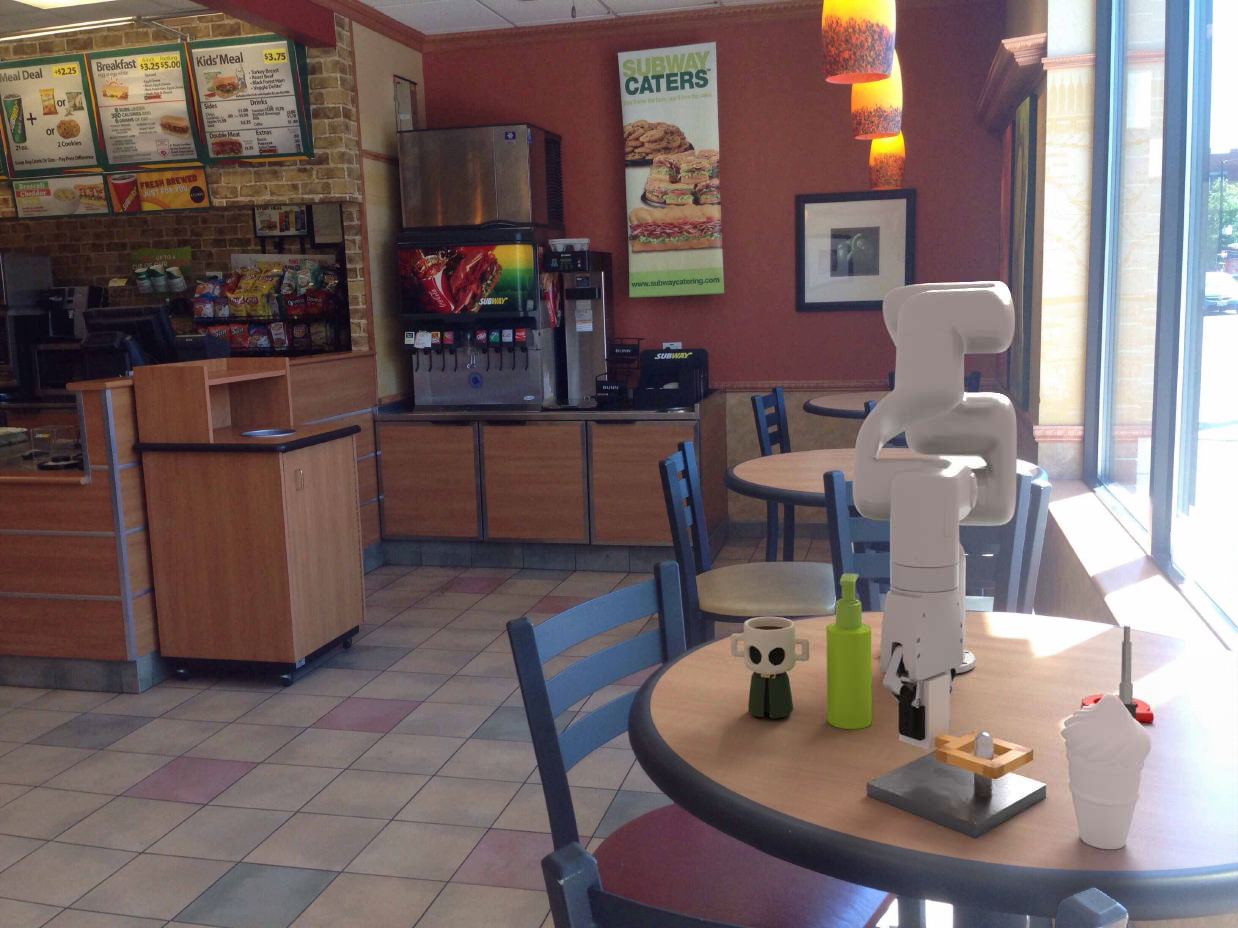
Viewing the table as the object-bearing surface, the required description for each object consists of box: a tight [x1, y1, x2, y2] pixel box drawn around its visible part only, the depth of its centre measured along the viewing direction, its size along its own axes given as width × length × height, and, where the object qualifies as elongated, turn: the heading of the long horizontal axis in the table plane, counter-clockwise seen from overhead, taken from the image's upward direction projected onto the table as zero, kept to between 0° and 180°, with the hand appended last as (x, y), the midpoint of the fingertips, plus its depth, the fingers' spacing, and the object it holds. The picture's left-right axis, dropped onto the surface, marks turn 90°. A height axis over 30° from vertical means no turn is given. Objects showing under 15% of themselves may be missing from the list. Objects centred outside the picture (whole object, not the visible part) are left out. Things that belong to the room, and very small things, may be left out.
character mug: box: [730, 616, 810, 719], centre depth 147 cm, size 11×7×13 cm, turn 72°
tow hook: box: [1081, 625, 1155, 723], centre depth 144 cm, size 8×13×9 cm
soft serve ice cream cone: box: [1060, 691, 1152, 850], centre depth 108 cm, size 8×8×16 cm
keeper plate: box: [866, 731, 1047, 839], centre depth 120 cm, size 14×14×8 cm
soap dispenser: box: [825, 572, 873, 730], centre depth 143 cm, size 6×7×20 cm
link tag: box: [898, 671, 1034, 780], centre depth 119 cm, size 13×7×8 cm, turn 39°
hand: (924, 729), depth 123 cm, fingers closed on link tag, 4 cm apart
